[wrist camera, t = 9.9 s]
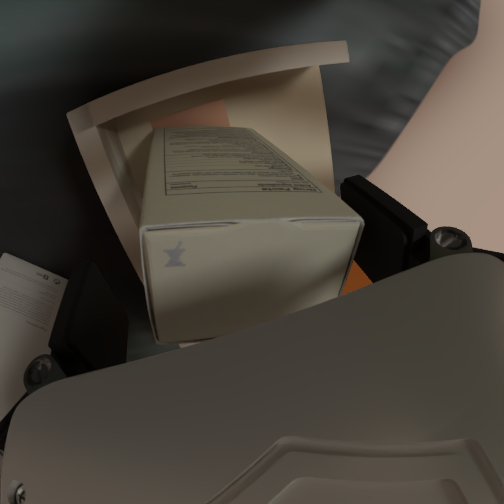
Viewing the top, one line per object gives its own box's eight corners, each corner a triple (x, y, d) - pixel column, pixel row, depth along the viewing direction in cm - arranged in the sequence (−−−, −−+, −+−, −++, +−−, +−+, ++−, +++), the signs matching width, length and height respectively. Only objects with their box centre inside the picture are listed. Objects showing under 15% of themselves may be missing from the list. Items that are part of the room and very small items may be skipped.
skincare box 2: (153, 193, 19) (144, 350, 9) (152, 126, 16) (122, 226, 7) (252, 191, 20) (333, 329, 11) (259, 126, 18) (371, 220, 8)
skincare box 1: (5, 248, 18) (-74, 427, 6) (75, 279, 22) (40, 476, 9) (-2, 316, 21) (-43, 466, 9) (57, 341, 24) (38, 497, 12)
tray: (336, 263, 27) (360, 296, 23) (180, 313, 26) (185, 354, 22) (310, 43, 16) (346, 40, 12) (89, 102, 15) (66, 113, 11)
